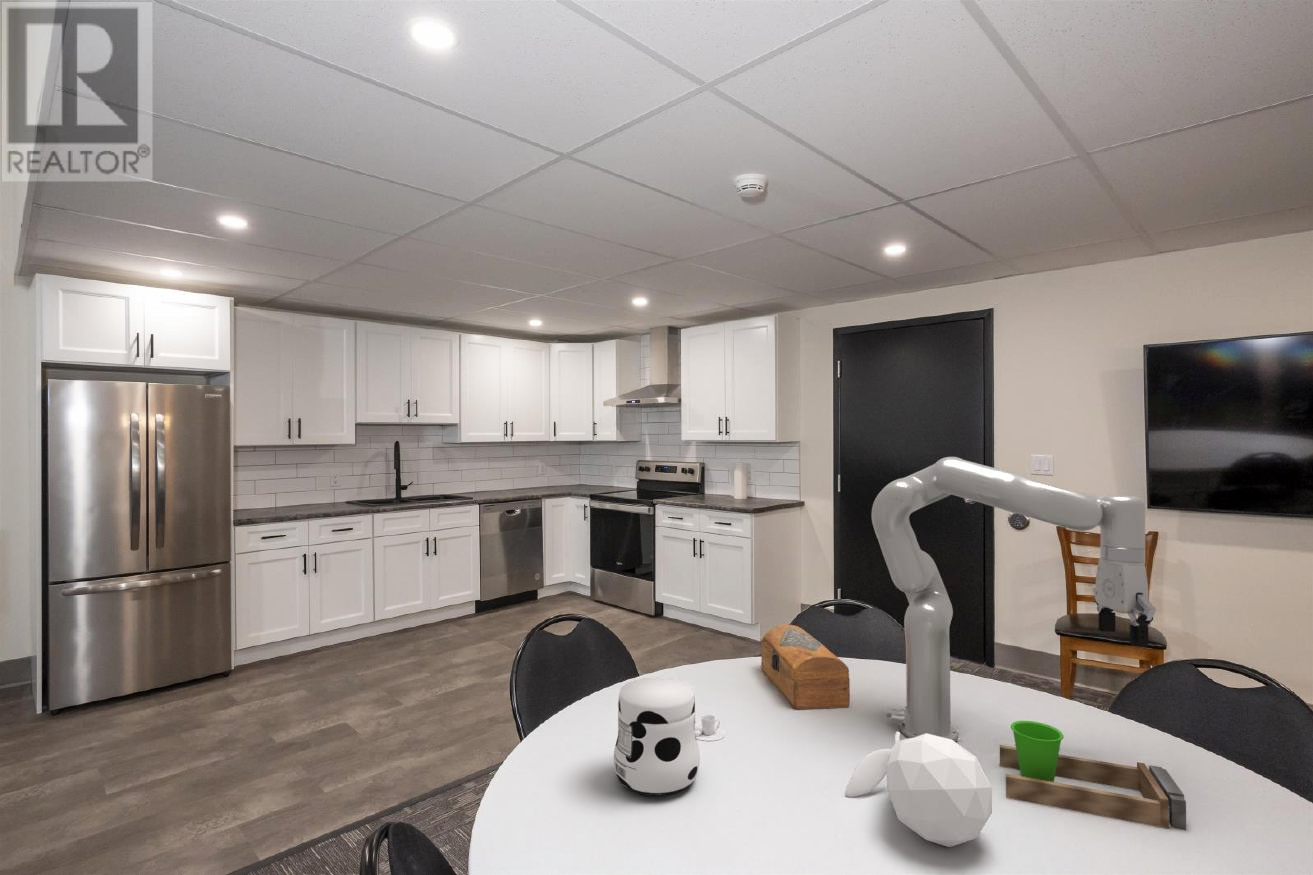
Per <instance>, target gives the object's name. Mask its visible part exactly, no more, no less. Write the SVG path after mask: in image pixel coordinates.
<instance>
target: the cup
mask: <svg viewBox="0 0 1313 875" xmlns="http://www.w3.org/2000/svg"><path fill="white" fill-rule="evenodd" d="M1010 729H1011V730H1012V733H1013V738H1014V744H1015V747H1016V750H1017V756H1018V761H1019V767H1020V770H1019V772H1020V776H1022V777H1028V778H1033V779H1039V780H1045V781H1050V782H1055V777H1056V776H1055V772H1056V767H1057V761H1058V755H1060V749H1061V744H1062V740H1063V739H1065V738H1064V734H1063V732H1062V731H1061V730H1059V728H1056V727H1054V726H1052V725H1049V724H1047V723H1044V722H1043V723H1042V722H1037V721H1032V720H1018V721H1014V722H1012V723H1011V725H1010Z"/></svg>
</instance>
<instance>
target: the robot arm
mask: <svg viewBox="0 0 1313 875" xmlns="http://www.w3.org/2000/svg"><path fill="white" fill-rule="evenodd" d="M951 495H952V496H954V497H955V496H956V497H958V498H962V499H966V500H970V501H974V502H977V503H980V504H985V505H986V506H990V507H993V508H997V509H1000V510H1003V511H1007V512H1010V513H1013V514H1018V515H1022V516H1024V517H1028V518H1030V519H1035V520H1038V521H1040V522H1041V521H1042V522H1045V523H1047V524H1051V525H1055V526H1059V527H1061V528H1066V529H1069V530H1071V531H1075V532H1076V531H1078V532H1087V531H1090V530H1094V529H1095V528H1097V527H1099V528H1100V548H1099V549H1100V553H1099V554H1100V558H1099V559H1098V564H1097V567H1096V576H1095V587H1093V589H1092V591H1093V596H1094V602H1095V603H1096V610H1097V613H1098V631H1100V632H1103V633H1104V632H1106V633H1109V632H1111V633H1114V632H1116V612H1117V613H1120V614H1127V615H1128V618H1129V620H1130V621H1131V623H1132V624H1129V644H1130V645H1131V646H1134V647H1137V646H1138V647H1147V646H1149V627H1150V626H1151V625H1152V624H1151V623H1152V622H1153V621H1154V615H1155V614H1156V612H1157V609H1156V607H1155V606H1154V605H1153V604H1152V603H1151V602H1150V600H1149V597H1150V596H1149V584H1148V576H1147V574H1148V573H1147V570H1146V566H1145V565H1146V503H1145V501H1144V499H1143V498H1141V497H1139V496H1136V495H1128V494H1127V495H1126V494H1125V495H1122V494H1110V495H1109V494H1108V495H1102V494H1101V495H1099V494H1093V493H1086V492H1081V491H1080V492H1078V491H1075V492H1073V491H1068V490H1065V489H1061V488H1058V487H1054V486H1050V485H1046V484H1044V483H1040V482H1037V481H1034V480H1031V479H1028V478H1026V477H1024V476H1023V475H1021V474H1017V473H1015V472H1011V471H1008V470H1004V469H1000V468H996V467H991V466H988V465H984V464H980V463H977V462H974V461H973V462H972V461H969V460H965V459H963V458H960V457H957V456H947V457H942V458H941V459H938V460H937V461H936V462H935V463H934V464H932V465H929V466H928V467H926V468H923V469H921V470H919V471H916V472H914V473H912V474H910V475H908V476H905V477H901V478H897V479H895V480H893V481H891V482H889V483H888V484H886V486H884V487H883V488H882V489H881V491H879V493H878V494H877V495H876V497H875V499H874V501H873V504H872V507H871V523H872V526H873V529H874V533H875V535H876V538H877V540H878V543H879V546H880V549H881V552H882V555H883V558H884V561H885V563H886V566H887V569H888V572H889V575H890V577H891V581H892V582H893V584H894V586H895V587H896V588H897V589H898V590H900V591H901V592H903V593H904V594H905V596H906V599H907V601H908V604H909V605H908V606H907V608H906V610H905V614H904V621H903V624H904V626H903V627H904V637H905V664H906V666H905V667H906V669H905V671H906V673H905V674H906V678H905V679H906V681H905V682H906V684H905V685H906V687H905V688H906V690H905V691H906V692H905V693H906V705H905V708H904V709H901V708H900V710H897V709H893V708H890V707H889V708H888V707H887V708H886V717H887V718H891V721H893V722H900V723H899V731H900V733H902V734H903V735H904V736H906V737H907V738H914V737H917V736H920V735H923V734H926V733H927V734H931V735H935V736H939V737H943V738H947V739H951V740H953V741H954V742H957V741H958V740H959V739H958V738H959V733H958V730H957V729H956V728H955V727H954V726H952V723H951V722H952V720H951V718H952V717H951V652H950V650H951V649H950V626H951V623H952V622H951V621H952V619H953V614H954V609H953V605H952V603H951V600H950V597H949V594H948V591H947V588H946V586H945V584H944V581H943V579H942V577H941V574H940V571H939V569H938V567H937V565H936V563H935V561H934V559H933V558H932V557H931V555H930V554H929V553H927V552H926V551H924V550H922V549H921V547H920V545H919V542H918V540H917V536H916V534H915V531H914V529H913V528H912V525H911V522H910V515H911V514H912V513H914V512H916V511H918V510H920V509H922V508H924V507H926V506H928V505H931V504H933V503H935V502H937V501H940V500H943V499H944V498H948V497H949V496H951ZM1114 611H1115V612H1114ZM1137 616H1138V617H1137Z"/></svg>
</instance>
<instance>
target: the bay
mask: <svg viewBox="0 0 1313 875" xmlns="http://www.w3.org/2000/svg"><path fill="white" fill-rule="evenodd" d="M999 766H1000V767H1002V768H1006V769H1007V768H1008V769H1013V770H1018V771H1020V767H1019V761H1018V756H1017V750H1016V746H1011V745H1010V746H1009V745H1003V744H999ZM1055 777H1058V778H1059V777H1060V778H1066V779H1072V780H1076V781H1083V782H1087V783H1092V784H1093V783H1094V784H1099V785H1104V786H1110V787H1111V786H1112V787H1118V788H1121V789H1122V788H1123V789H1129V790H1134V791H1139V792H1140V794H1141V797H1140V796H1134V795H1129V794H1122V793H1117V792H1112V791H1106V790H1100V789H1094V788H1088V787H1085V786H1084V787H1083V786H1078V785H1071V784H1066V783H1061V782H1056V781H1054V782H1050V781H1045V780H1039V779H1033V778H1028V777H1022V776H1021V775H1015V774H1010V773H1005V796H1006V798H1007V799H1012V800H1018V801H1021V802H1022V801H1023V802H1028V803H1034V804H1039V805H1043V806H1048V807H1055V808H1059V809H1065V810H1070V811H1074V812H1075V811H1076V812H1080V813H1086V814H1089V815H1091V814H1092V815H1096V816H1101V817H1102V816H1103V817H1106V818H1107V817H1108V818H1111V819H1112V818H1113V819H1117V820H1121V821H1128V822H1131V823H1139V824H1144V825H1148V826H1155V827H1159V828H1165V829H1170V826H1171V828H1172V829H1179V830H1184V831H1187V800H1186V799H1185V794H1184V793H1183V791H1182V790H1181V788H1180V787H1179V786H1178V784H1177V782H1175V780H1174V778H1173V777H1172V776H1171V775H1170V773H1169V772H1168V770H1167V769H1166V768H1163V767H1162V766H1156V765H1150V764H1149V765H1148V766H1147V765H1146V764H1145V762H1140V761H1137V762H1136V766H1133V765H1125V764H1120V763H1114V762H1108V761H1102V760H1096V759H1089V758H1082V757H1076V756H1071V755H1065V754H1059V755H1058V761H1057V767H1056V772H1055Z"/></svg>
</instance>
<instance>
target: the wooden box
mask: <svg viewBox="0 0 1313 875" xmlns="http://www.w3.org/2000/svg"><path fill="white" fill-rule="evenodd" d="M761 643H762V644H761V657H760V658H761V665H760V666H761V668H760V669H761V672H762V673H763V675H764V676H766V678H767V679H768V680H769V681H770V682H771V684H773V686H774V687H775V688H776V689H777V691H778V692H779V693H780V694H781V695H782V696H783V697H784V699H785V700H786V701H787V703H789V705H790V706H791V708H793V709H794V710H797V711H799V710H802V711H803V710H818V709H819V710H821V709H840V708H841V709H842V708H850V702H851V701H850V700H851V694H850V693H851V691H850V690H851V689H850V685H851V684H850V680H851V679H850V669H849V667H848V666H847V664H846V663H845V662H844V661H842V660H841V659H840V658H839V657H838V656H836V655H835V654H834V653H833V652H831V651H830V650H829V649H828V648H827V647H826V646H825V645H824V644H822V643H821V642H820V641H819V640H817V639H816V638H814V637H813V636H812V635H811V634H810V633H808V632H807V631H806V630H804V629H803V628H801V627H799V626H798V625H794V624H779V625H777V626H774V627H773V628H772V629H769V630H768V631H767V632H766V633H764V635H763V636H762V642H761Z"/></svg>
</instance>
